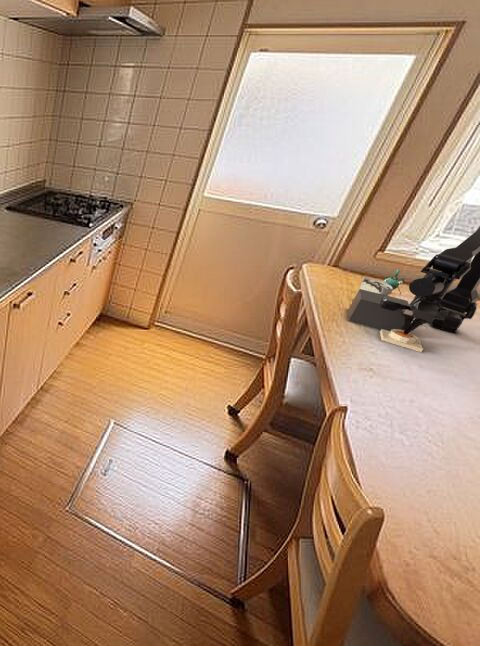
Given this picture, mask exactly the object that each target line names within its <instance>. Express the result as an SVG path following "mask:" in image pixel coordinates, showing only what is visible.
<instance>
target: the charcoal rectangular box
mask: <svg viewBox="0 0 480 646" xmlns="http://www.w3.org/2000/svg"><path fill="white" fill-rule="evenodd" d="M358 290H359V291H358ZM358 290H357V292H358V293H357V292H356V294H357V295H356V294H355V295H354V298H353V300H352V302H351V304H350V305H349V307H348V309H347V319H348V320H347V321H348V322H351V323H354V324H358V325H361V326H364V327H368V328H372V329H375V330H378V331H381V329H384V330H387V331H391V330H392V329H398V330H401V329H402V327H403V325H404V322H405V317H404V316H402V314H401V309H398V310H395V311H391V310H387V309H383V308H381V306H380V301H381V300H382V298H383V297H386V295H382V294H378V293H374V292H370V291H366V290H362V289H359V288H358ZM387 297H391V298H395V299H399V301H400V303H402V304H406V305H409V304H410V303H409V300H405V299H402V298H397V297H394V296H390V295H388V296H387Z"/></svg>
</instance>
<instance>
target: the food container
mask: <svg viewBox="0 0 480 646" xmlns="http://www.w3.org/2000/svg"><path fill="white" fill-rule="evenodd" d="M359 289H362V290H366V291H370V292H374V293H378V294H382V295H386V296H387V295H388V296H390V295H392V293H393V289H392V286H390V285H389V284H386V283H384V282H383V281H382V280H378V279H374V278H370V277H363V278H362V279H361V283H360V285H359V288H358V289H357V292H356V294H355V296H356V295H357V293H358V291H359Z"/></svg>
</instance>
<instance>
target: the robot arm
mask: <svg viewBox="0 0 480 646" xmlns="http://www.w3.org/2000/svg"><path fill="white" fill-rule="evenodd" d="M420 273H423V274H424V276H423V277H419V278H416V279H414V280H412V281H411V282H410V283H409V285H408V290H409V292H410V293H411V294H412V295H414V297H413V299H412V300H411V301H410V303H409V304H410V305H406V304H402V303H400V301H399V299H400V298H398V299H395V298H396V297H394V298H391V297H392V296H390V297H387V296H386V297H383V298H382V300H381V301H380V306H381V308H383V309H387V310H391V311H395V310H398V309H401V314H402V316H404V317H405V322H404V331H403V333H404V334H408V333H411V332H413V331H414V330H416V329H417V328H418V327H420V326H422V324H425V323H426V324H430V325H431V327H432V328H435V329H439V330H442V331H445V332H450V333H454V334H458V331H457V330H458V329H459V328H460V327H461V325H462V324H463V322H464V320H465V319H466V320H468V319H469V320H472V319H473V317H474V316H475V314H476V311H477V309H478V303H477V302H478V300H479V298H480V297H479V293H478V288H479V286H480V225H479V226H478V227H477V228H476V230H475V231H474V232H473V233H472V234H471V235H469V236H468V237H467V238H466V239H465V240H463V241H462V242H461V243H460V244H458V245H457V246H456V247H451V248H446V249H444V250H442V251H441V252H440V253H437V254H436V255H434V256H433V257H432V258H431V259H430V260H429V261H428V263H427V264H425V266H424V267H423V268H422V269H421V270H420ZM457 280H459V282H458V283H457V285H456V286H455V287H454V288H452V289H450V288H451V286H452V285H453V284H454V282H456V281H457ZM449 289H450V290H449ZM412 309H413V310H412Z"/></svg>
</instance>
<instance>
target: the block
mask: <svg viewBox="0 0 480 646" xmlns="http://www.w3.org/2000/svg"><path fill="white" fill-rule="evenodd" d="M398 331H403V330H398V329H392V330H391V331H387V330H384V329H381V330H379V335H380V339H381V341H383V342H385V343H389V344H393V345H396V346H399V347H403V348H406V349H410V350H413V351H415V352H416V351H417V352H420V353H422V351H424V347H423V345H422V342H421V339H419V338H418V336H416V335H415V334H414V333H411V332H410V333H409V334H411V335H412V337H406V336H402V335H400V334H398V333H397V332H398Z"/></svg>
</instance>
